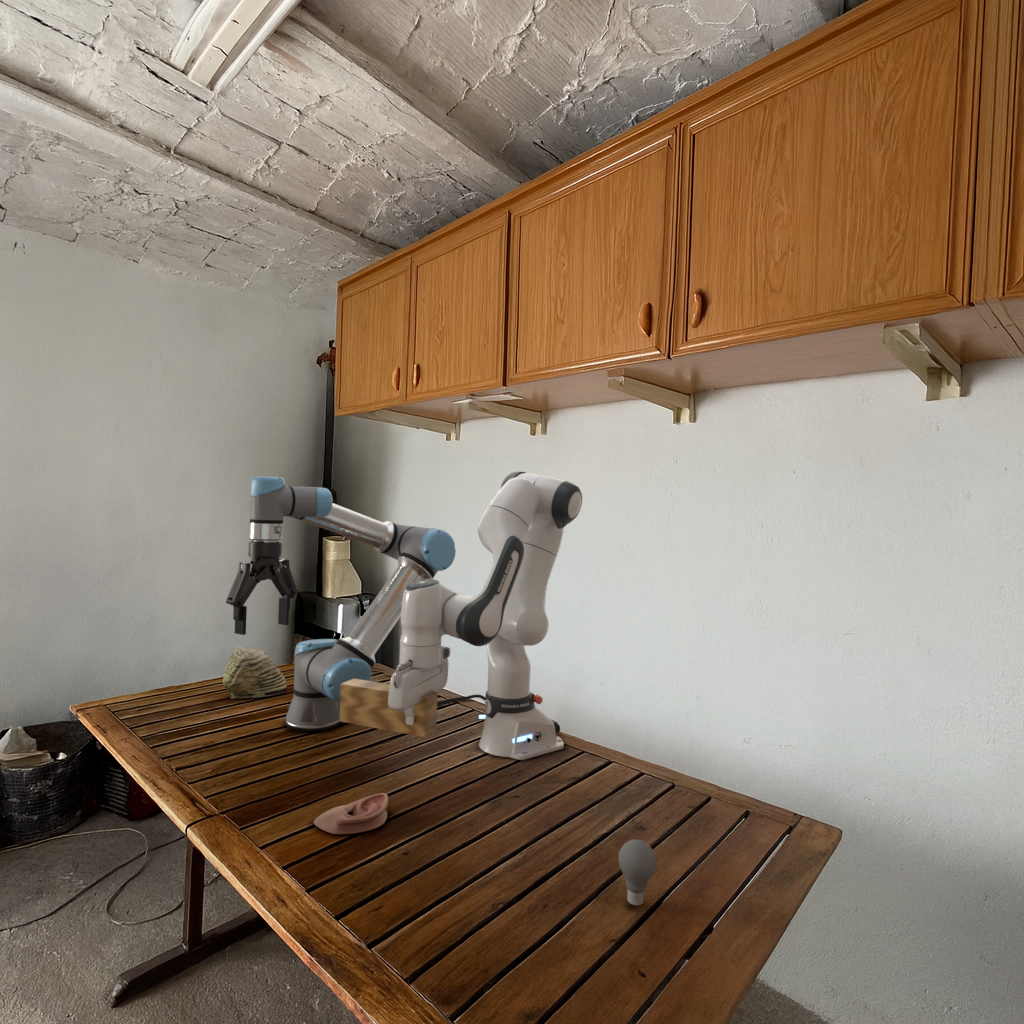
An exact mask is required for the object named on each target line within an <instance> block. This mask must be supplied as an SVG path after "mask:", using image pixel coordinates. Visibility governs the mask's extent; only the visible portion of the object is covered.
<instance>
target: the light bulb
mask: <svg viewBox="0 0 1024 1024" xmlns="http://www.w3.org/2000/svg"><path fill="white" fill-rule="evenodd" d="M618 865H619V868H620V871H621V872H622V874H623V876H624V880H625V885H626V888H627V897H626V899H627V902H628V903H629V904H630V905H633V906H641V905H643V904H644V898H645V897H644V896H645V891H646V889H647V886H648V885H647V884H648V882H649V880H650V879H651V877H652V876H653V875H654V874H655V871H656V867H657V858H656V853H655V852H654V850H653V848H652V847H651V846H650V845H649V844H648V843H647V842H646V841H644V840H641V839H634V838H633V839H630V840H627V841H626V842H625V843H623V845H622V846H621V848H620V850H619V852H618Z"/></svg>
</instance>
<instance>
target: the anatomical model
mask: <svg viewBox="0 0 1024 1024" xmlns="http://www.w3.org/2000/svg"><path fill="white" fill-rule="evenodd" d="M388 805H389V795H388V793H386V792H379V793H375V794H371V795H369V796H366V797H363V798H360V799H358V800H355V801H352V802H350V803H347V804H344V805H343V804H342V805H339V806H335V807H333V808H330V809H328V810H326V811H325V812H322V813H321V814H320V815H318V816H317V817H316V818H315V819H314V820H313V824H314V825H315V826H316V827H317V828H319V829H320V830H322V831H324V832H327V833H328V834H333V835H349V834H357V833H363V832H368V831H372V830H375V829H377V828H379V827H381V826H382V825H384V824H385V823H386V821H387V818H388V812H387V811H388V810H386V809H387V808H388Z"/></svg>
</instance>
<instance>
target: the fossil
mask: <svg viewBox="0 0 1024 1024" xmlns="http://www.w3.org/2000/svg"><path fill="white" fill-rule="evenodd" d="M222 676H223V677H222V685H223V687H224V688H225V690H226V691H228V693H229V698H230V699H250V698H264V697H271V696H275V695H281V694H284V693H285V691H286V689H287V687H288V686H287V680H286V678H285V676H284V674H283V673H282V672H281V669H279V668H278V667H277V665H276V663H275V662H274V660H273V659H272V658H271V657H270V656H269V655H268V654H267V653H266V652H265V650H264V649H263V648H260V647H258V648H251V647H247V646H246V647H245V646H238V647H237V648H236V649H235V650H233V651H232V653H231V656H230V657H229V659H228V660H227V663H226V666H225V668H224V671H223V675H222Z"/></svg>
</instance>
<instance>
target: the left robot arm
mask: <svg viewBox="0 0 1024 1024" xmlns="http://www.w3.org/2000/svg"><path fill="white" fill-rule="evenodd" d="M250 484H251V485H250V491H249V492H250V494H249V497H250V499H249V528H248V529H249V530H248V539H249V540H251V541H249V542H248V557H249V558H250V560H249V561H250V562H239V563H238V566H237V567H238V568H237V573H236V576H235V578H234V580H233V583H232V585H231V587H230V590H229V592H228V594H227V597H226V599H225V603H226V604H227V605H230V606H233V607H232V608H233V613H232V614H233V615H232V619H233V620H234V634H235V635H242V636H244V635H246V634H247V615H248V614H247V609H248V606H247V605H245V604H246V602H247V600H248V599H249V597H250V596H251V594H252V593H253V591H254V590H255V588H256V586H257V585H258V584H260V582H261V581H266V580H270V581H271V582H272V584H273V585H274V587H275V588H276V590H277V591H278V593H279V594H280V596H281V597H279V598H278V618H277V625H282V626H288V625H290V624H289V622H290V611H291V605H292V603H291V601H292V599H295V597H296V596H297V595H298V588H297V585H296V583H295V579H294V577H293V574H292V570H291V567H290V566H291V565H290V559H286V558H281V557H282V556H283V543H282V540H283V531H284V530H283V529H284V518H285V517H290V518H293V519H295V520H299V521H301V522H304V523H307V524H310V525H312V526H316V527H318V528H321V529H324V530H327V531H330V532H332V533H335V534H337V535H340V536H343V537H345V538H348V539H351V540H354V541H357V542H360V543H363V544H365V545H369V546H371V547H373V548H374V550H375V551H376V552H378V553H380V554H383V555H386V556H388V557H390V558H392V559H394V560H397V563H398V565H397V566H396V569H395V570H394V572H393V573H392V574H391V576H390V577H389V578H388V579H387V581H386V583H385V584H384V585H383V587H382V588H381V590H380V591H379V592H378V594H377V595H376V597H375V598H374V599H373V601H372V602H371V603H370V605H369V606H368V607H367V609H366V611H365V612H364V614H362V616H361V617H360V618H359V621H358V622H357V623H356V625H354V627H353V628H352V630H351V632H350V633H349V634H348V636H345V637H341V638H339V639H336V638H319V639H308V640H303V641H300V642H297V644H296V645H295V650H294V655H293V656H294V672H293V695H292V696H293V697H292V699H291V702H290V704H289V705H288V706H287V708H286V710H288V711H287V713H286V715H285V726H286V728H287V729H289V730H291V731H294V732H295V731H296V732H301V733H316V732H325V731H329V730H332V729H335V728H337V727H339V726H340V725H342V723H343V722H340V691H341V684H342V683H344V682H346V681H349V680H351V679H353V678H354V679H361V680H367V681H372V679H373V678H372V675H373V673H372V672H373V671H372V669H373V667H374V666H375V664H376V657H375V655H376V653H377V651H378V650H379V649H380V647H381V646H382V644H383V643H384V641H385V640H386V638H387V637H388V635H389V634H390V632H391V631H392V629H393V628H394V627H395V625H397V623H398V621H399V619H401V607H402V598H403V594H404V590H405V588H406V586H407V585H408V584H410V583H411V582H414V581H417V580H421V579H434V578H435V576H436V575H437V573H438V572H443V571H445V570H448V569H449V568H450V567H451V566H452V564H453V563H454V560H455V557H456V543H455V541H454V539H453V537H452V536H451V534H450V533H449V532H447V531H446V530H444V529H441V528H440V529H439V528H437V527H424V526H415V525H404V524H398V523H396V522H392V521H389V520H388V521H384V522H383V521H380V520H377V519H375V518H372V517H370V516H368V515H364V514H363V513H359V512H356V511H354V510H352V509H349V508H346V507H343V506H341V505H339V504H336V503H333V501H334V500H333V495H332V492H331V491H330V490H329V489H328V488H327V487H320V486H298V485H297V486H294V485H286V482H285V478H283V477H280V476H263V475H261V476H258V475H256V476H254V477H253V478H252V480H251V483H250ZM485 697H486V696H484V695H483V694H471V695H467V696H459V697H452V698H448V699H444V700H437V706H438V705H443V704H448V703H453V702H458V701H465V700H471V699H476V698H479V699H481V700H483V701H485Z"/></svg>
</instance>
